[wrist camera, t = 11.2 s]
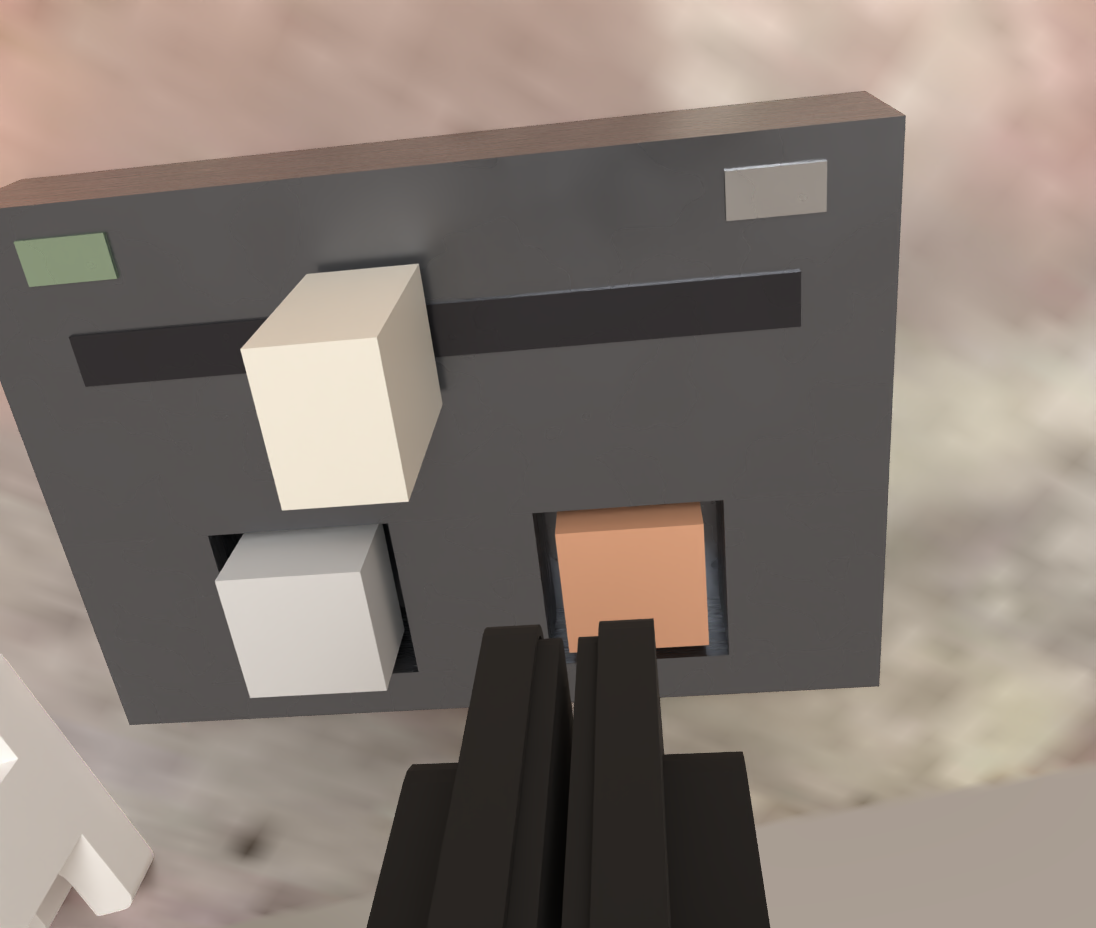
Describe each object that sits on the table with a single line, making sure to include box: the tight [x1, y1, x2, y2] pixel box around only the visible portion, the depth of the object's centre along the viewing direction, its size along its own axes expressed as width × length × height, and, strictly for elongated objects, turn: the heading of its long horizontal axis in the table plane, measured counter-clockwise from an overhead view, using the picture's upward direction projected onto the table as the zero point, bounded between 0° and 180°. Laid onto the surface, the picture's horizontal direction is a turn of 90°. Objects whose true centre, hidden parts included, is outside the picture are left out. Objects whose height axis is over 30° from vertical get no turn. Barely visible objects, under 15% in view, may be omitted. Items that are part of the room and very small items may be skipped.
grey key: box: [215, 524, 404, 698], centre depth 26 cm, size 4×4×2 cm
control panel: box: [0, 91, 906, 725], centre depth 26 cm, size 20×14×4 cm
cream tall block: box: [240, 264, 443, 511], centre depth 20 cm, size 2×3×4 cm
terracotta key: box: [555, 502, 709, 653], centre depth 26 cm, size 4×4×2 cm
